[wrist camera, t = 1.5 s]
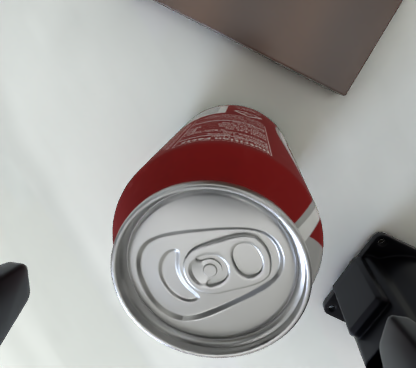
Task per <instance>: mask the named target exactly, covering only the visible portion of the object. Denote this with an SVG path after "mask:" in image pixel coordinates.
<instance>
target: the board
mask: <svg viewBox="0 0 416 368" xmlns="http://www.w3.org/2000/svg"><path fill="white" fill-rule="evenodd" d="M153 1H155V2H157V3H159V4H161V5H163V6H165V7H167V8H169V9H171V10H173V11H175V12H177V13H179V14H181V15H183V16H185V17H187V18H189V19H191V20H193V21H195V22H197V23H199V24H201V25H203V26H205V27H207V28H209V29H211V30H213V31H215V32H217V33H219V34H221V35H223V36H225V37H227V38H229V39H231V40H233V41H234V42H236V43H238V44H240V45H242V46H244V47H246V48H248V49H250V50H252V51H254V52H256V53H258V54H260V55H262V56H264V57H266V58H268V59H270V60H272V61H274V62H276V63H278V64H280V65H282V66H284V67H286V68H288V69H290V70H292V71H294V72H296V73H298V74H300V75H302V76H304V77H306V78H308V79H310V80H312V81H314V82H316V83H317V84H319V85H321V86H323V87H325V88H327V89H329V90H331V91H333V92H335V93H337V94H340V95H343V96H345V95H346V94H347V92H348V90H349V89H350V87H351V85H352V84H353V82H354V80H355V79H356V77H357V75H358V74H359V72H360V70H361V69H362V67H363V65H364V64H365V62H366V60H367V59H368V57H369V55H370V54H371V52H372V50H373V49H374V47H375V46H376V44H377V42H378V41H379V39H380V37H381V36H382V34H383V32H384V31H385V29H386V27H387V26H388V24H389V22H390V21H391V19H392V17H393V16H394V14H395V12H396V11H397V9H398V7H399V6H400V4H401V2H402V1H403V0H153Z"/></svg>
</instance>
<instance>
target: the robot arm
mask: <svg viewBox="0 0 416 368" xmlns="http://www.w3.org/2000/svg"><path fill="white" fill-rule="evenodd" d="M380 239H385V240H384V242H382V243H378V241H379V240H380ZM29 295H30V287H29V278H28V270H27V267H26V265H24V264H21V263H14V262H8V263H5V264H2V265H0V345H1V344H2V342H3V340H4V339H5V337H6V335H7V334H8V332H9V330H10V329H11V327H12V325H13V324H14V322H15V320H16V319H17V317H18V315H19V314H20V312H21V311H22V309H23V307H24V306H25V304H26V302H27V300H28V298H29ZM331 305H333V306H334V307H332V308H329V306H331ZM323 307H324V310H325V312H326V313H327V314H329V315H331V316H333V317H335V318H337V319H339V320H342V321H344V322H346V325H347V328H348V331H349V333H350V335H352V336H354V337H355V340H356V343H357V345H358V348H359V351H360V353H361V356H362V358H363V361H364V364H365V366H366V368H416V248H415V247H413V246H411V245H409V244H407V243H405V242H402V241H400V240H398V239H396V238H394V237H392V236H390V235H388V234H386V233H383V232H378V233H376V234H374V235H373V236H372V238H371V239H370V240H369V242H368V243H367V244H366V246H365V247H364V248H363V250H362V251H361V252H360V254H359V255H358V257H355V258H354V259H353V260H352V261H351V262H350V264H349V265H348V267H347V268H346V269H345V271H344V272H343V273H342V275H341V276H340V277H339V279H338V280H337V281H336V283H335V284H334V285H333V290H332V291H331V293H330V294H329V295H328V297H327V298H326V299H325V301H324V303H323Z"/></svg>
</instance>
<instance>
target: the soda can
mask: <svg viewBox="0 0 416 368" xmlns="http://www.w3.org/2000/svg"><path fill="white" fill-rule="evenodd" d="M322 254H323V230H322V224H321V220H320V216H319V213H318V210H317V207H316V205H315V203H314V201H313V198H312V196H311V194H310V192H309V190H308V188H307V185H306V183H305V181H304V179H303V177H302V175H301V173H300V170H299V168H298V166H297V164H296V162H295V160H294V158H293V155H292V153H291V151H290V149H289V147H288V145H287V143H286V140H285V138H284V136H283V134H282V133H281V131H280V130H279V129H278V127H277V126H276V125H275V124H274V123H273V122H272V121H271V120H270V119H269V118H268V117H266V116H265V115H263V114H262V113H260V112H258V111H256V110H254V109H251V108H248V107H244V106H239V105H222V106H217V107H213V108H210V109H207V110H205V111H203V112H201V113H199V114H198V115H196V116H195V117H194V118H192V119H191V120H190V121H189V122H188V123H187V124H186V125H185V126H184V127H183V128H182V129H181V130H180V131H179V132H178V133H177V134H176V135H175V136H174V137H173V138H172V139H171V140H170V141H169V142H168V143H167V144H166V145H164V146H163V147H162V148H161V149H160V150H159V151H158V152H157V153H156V154H155V155H154V156H153V157H152V158H151V159H150V160H149V161H148V162H147V163H146V164H145V165H144V166H143V167H142V168H141V169H140V170H139V171H138V172H137V173H136V174H135V175H134V176H133V178H132V179H131V180H130V182H129V183H128V184H127V186H126V188H125V189H124V191H123V193H122V195H121V197H120V199H119V201H118V204H117V207H116V211H115V215H114V220H113V249H112V254H111V274H112V280H113V284H114V288H115V291H116V294H117V296H118V298H119V300H120V302H121V304H122V306H123V307H124V309H125V311H126V312H127V313H128V315H129V316H130V317H131V318H132V320H133V321H134V322H135V323H136V324H137V325H138V326H139V327H140V328H141V329H142V330H144V331H145V332H146V333H147V334H148V335H150V336H151V337H153V338H154V339H156V340H157V341H159V342H161V343H162V344H164V345H166V346H168V347H170V348H173V349H175V350H178V351H181V352H184V353H187V354H191V355H196V356H201V357H210V358H228V357H236V356H242V355H246V354H250V353H253V352H256V351H259V350H261V349H263V348H266V347H268V346H269V345H271V344H273V343H275V342H276V341H278V340H279V339H280V338H282V337H283V336H284V335H285V334H287V333H288V332H289V331H290V330H291V329H292V328H293V327H294V325H295V324H296V323H297V321H298V320H299V319H300V317H301V315H302V314H303V312H304V310H305V308H306V306H307V303H308V300H309V297H310V293H311V288H312V284H313V282H314V280H315V278H316V275H317V273H318V270H319V267H320V264H321V259H322Z"/></svg>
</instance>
